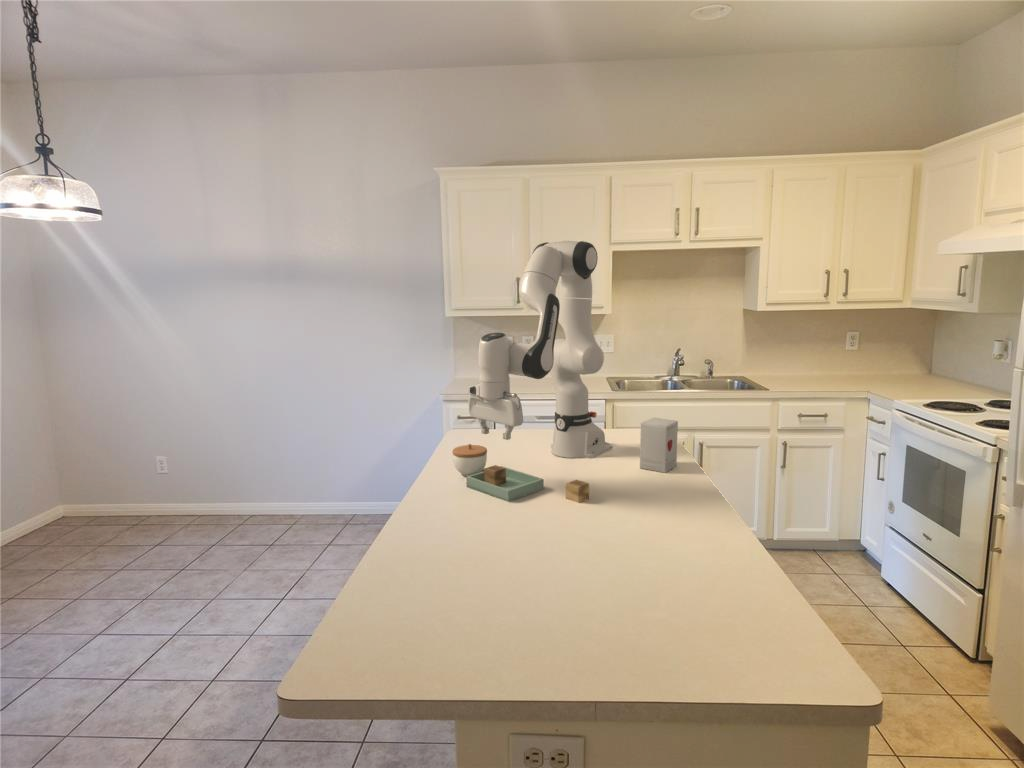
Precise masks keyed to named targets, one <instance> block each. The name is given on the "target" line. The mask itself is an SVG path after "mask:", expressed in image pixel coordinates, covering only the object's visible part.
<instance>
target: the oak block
mask: <svg viewBox="0 0 1024 768" xmlns="http://www.w3.org/2000/svg"><path fill="white" fill-rule="evenodd" d="M589 499H590V483H588V482H586V481H582V480H579V479H575V480H571V481H569V482H566V483H565V500H569V501H572V502H575V503H578V504H579V503H581V502H584V501H587V500H589Z"/></svg>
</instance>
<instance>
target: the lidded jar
mask: <svg viewBox="0 0 1024 768" xmlns="http://www.w3.org/2000/svg"><path fill="white" fill-rule="evenodd" d="M487 453H488V449H487V447H485V446H482V445H477V444H471V443H468V444H466V445H459V446H457V447H454V448H453V449H452V459H453V464H454V467H455V469H456V470H457V471H458V472H459V473H460V475H461V476H463V477H467V476H470V475H473V474H477V473H480V472H483V470H484V468H486V464H487V461H488V460H487V459H488V456H487V455H488V454H487Z"/></svg>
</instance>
